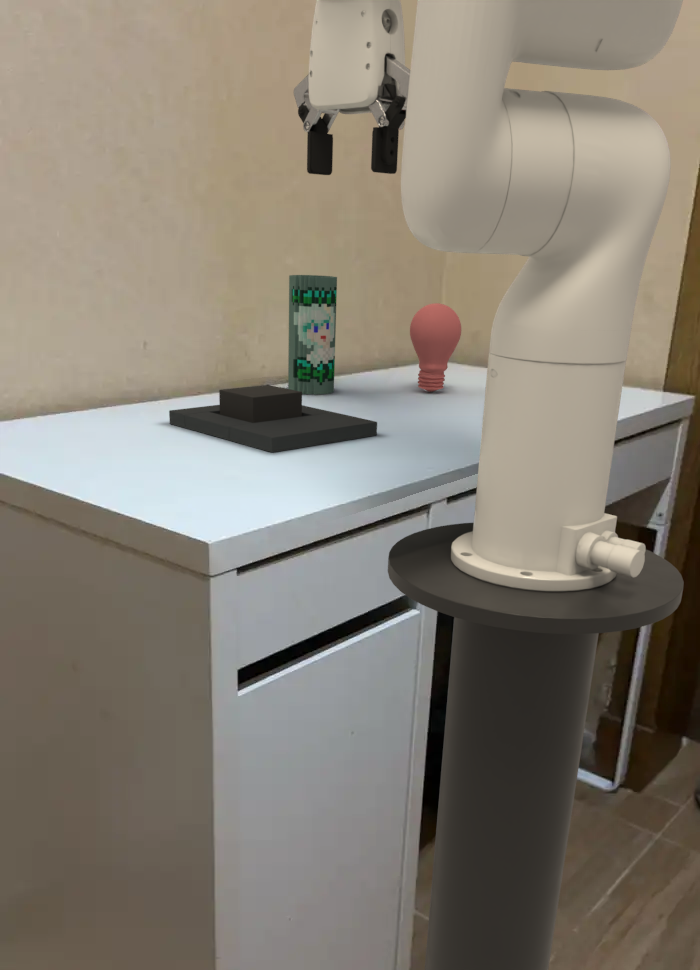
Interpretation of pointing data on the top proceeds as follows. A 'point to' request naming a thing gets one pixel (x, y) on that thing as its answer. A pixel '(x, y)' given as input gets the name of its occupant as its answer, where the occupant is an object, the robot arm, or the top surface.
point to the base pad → (276, 428)
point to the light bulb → (434, 342)
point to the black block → (260, 403)
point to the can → (312, 333)
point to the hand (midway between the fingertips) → (350, 173)
